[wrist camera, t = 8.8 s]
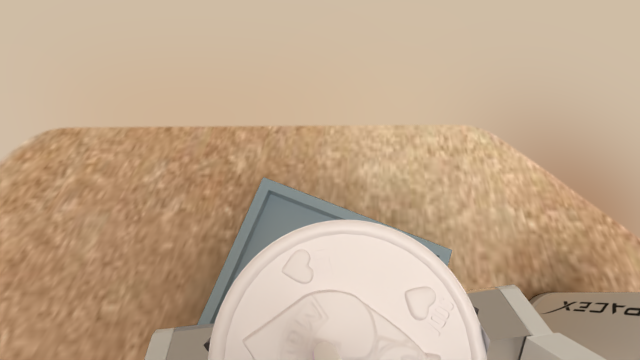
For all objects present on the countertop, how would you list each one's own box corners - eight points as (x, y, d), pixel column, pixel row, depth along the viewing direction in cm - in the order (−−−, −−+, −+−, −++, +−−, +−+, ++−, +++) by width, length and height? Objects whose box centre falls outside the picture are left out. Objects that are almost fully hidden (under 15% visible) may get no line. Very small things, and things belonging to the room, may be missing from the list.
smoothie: (272, 243, 19) (189, 123, 6) (404, 266, 19) (643, 198, 6) (243, 390, 17) (20, 730, 4) (389, 415, 17) (688, 855, 4)
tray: (182, 373, 30) (172, 380, 28) (266, 184, 34) (263, 177, 32) (380, 459, 29) (387, 473, 27) (442, 252, 33) (452, 250, 31)
